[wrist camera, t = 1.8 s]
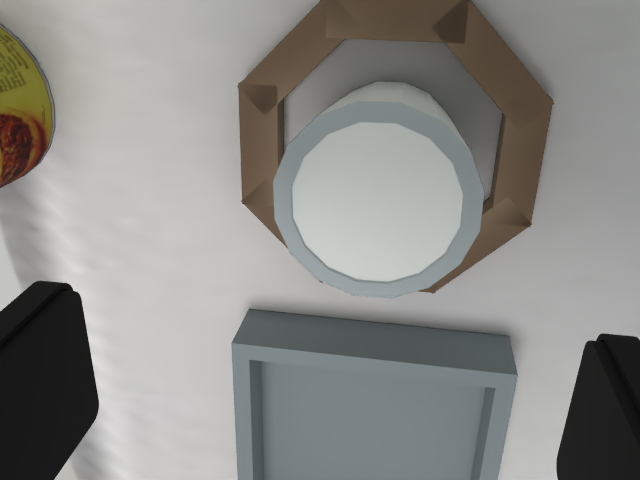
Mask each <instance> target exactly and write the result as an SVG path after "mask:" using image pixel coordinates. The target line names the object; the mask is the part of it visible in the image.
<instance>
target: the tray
mask: <svg viewBox="0 0 640 480" xmlns="http://www.w3.org/2000/svg"><path fill="white" fill-rule="evenodd" d="M232 363H233V385H234V406H235V428H236V449H237V471H238V480H497V479H498V473H499V468H500V463H501V458H502V453H503V448H504V443H505V437H506V432H507V427H508V422H509V417H510V412H511V406H512V401H513V396H514V391H515V386H516V381H517V376H518V375H517V370H516V366H515V361H514V357H513V352H512V348H511V343H510V339H509V336H501V335H492V334H482V333H472V332H463V331H453V330H444V329H434V328H424V327H415V326H405V325H395V324H386V323H376V322H367V321H357V320H347V319H338V318H328V317H318V316H309V315H299V314H290V313H280V312H270V311H261V310H251V309H249V310H248V312H247V314H246V316H245V318H244V320H243V322H242V324H241V326H240V328H239V330H238V332H237V334H236V335H235V337H234V339H233V341H232Z"/></svg>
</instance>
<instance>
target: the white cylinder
mask: <svg viewBox="0 0 640 480" xmlns="http://www.w3.org/2000/svg"><path fill="white" fill-rule="evenodd" d="M273 193H274V218H275V221H276V224H277V226H278V228H279V230H280V232H281V234H282V237H283V239H284V241H285V243H286V245H287V247H288V249H289V252H290V254H291V255H292V256H294V257H295V258H296V259H297V260H298V261H299V262H300V263H301V264H302V265H303V266H304V267H305V268H306V269H307V270H308V271H309V272H310V273H311V274H312V275H313V276H314V277H315V278H316V279H318V280H319V281H322V282H324V283H326V284H329V285H331V286H333V287H335V288H338V289H340V290H342V291H344V292H347V293H349V294H351V295H356V296H370V297H383V298H394V297H397V296H401V295H405V294H408V293H412V292H415V291H419V290H423V289H426V288H429V287H431V286H432V285H433V284H435V283H436V282H437V281H439V280H440V279H441V278H443V277H444V276H445V275H447V274H448V273H449V272H451V271H452V270H453V269H455V268H456V267H458V266H459V265H460V264H461V262H462V261H463V259H464V257H465V255H466V254H467V252H468V250H469V249H470V247H471V245H472V244H473V242H474V240H475V239H476V237H477V235H478V234H479V232H480V226H481V217H482V208H483V200H484V189H483V186H482V183H481V180H480V177H479V174H478V171H477V168H476V165H475V162H474V159H473V156H472V153H471V151H470V149H469V148H468V146H467V145H466V143H465V141H464V140H463V138H462V137H461V135H460V133H459V132H458V130H457V129H456V127H455V125H454V124H453V122H452V121H451V119H450V117H449V116H448V114H447V113H446V112H445V110H444V109H443V108H442V107H441V106H440V105H439V104H438V103H437V102H436V101H435V99H434V98H433V97H432V96H431V95H430V94H429V93H427V92H425V91H423V90H421V89H418V88H416V87H414V86H412V85H410V84H407V83H405V82H382V81H377V82H374V83H371V84H369V85H366V86H364V87H361V88H359V89H356V90H354V91H351V92H350V93H349V94H347V95H346V96H345V97H343V98H342V99H340V100H339V101H338V102H336V103H335V104H333V105H332V106H331V107H329V108H328V109H326V110H325V111H324V112H322V113H321V114H320V115H318V116H317V117H316V118H315V119H314V120H313V121H312V122H311V123H310V124H309V125H308V126H307V127H306V128H305V129H304V130H302V131H301V132H300V133H299V134H298V135H297V136H296V137H295V138H294V139H293V140H292V141H291V142H290V143H289V144H288V145H287V148H286V150H285V153H284V155H283V158H282V160H281V163H280V165H279V168H278V170H277V173H276V175H275V178H274V181H273Z"/></svg>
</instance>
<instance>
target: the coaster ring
mask: <svg viewBox="0 0 640 480" xmlns="http://www.w3.org/2000/svg"><path fill="white" fill-rule="evenodd" d="M344 39H369V40H393V41H417V42H441V43H445V44H446V45H447V47H448V48H449V49H450V50H451V51H452V52H453V54H454V55H455V56H456V57H457V58H458V60H459V61H460V62H461V63H462V64H463V66H464V67H465V68H466V69H467V70H468V72H469V73H470V74H471V75H472V76H473V78H474V79H475V80H476V81H477V82H478V84H479V85H480V86H481V87H482V88H483V90H484V91H485V92H486V93H487V94H488V96H489V97H490V98H491V99H492V100H493V102H494V103H495V104H496V105H497V106H498V108H499V109H500V110H501V111H502V112H503V113H502V120H501V127H500V134H499V140H498V147H497V154H496V160H495V167H494V174H493V181H492V187H491V194H490V198H488V199H487V200H486V201H484V202H483V208H482V217H481V226H480V232H479V234H478V235H477V237H476V239H475V240H474V242H473V244H472V245H471V247H470V249H469V250H468V252H467V254H466V255H465V257H464V259H463V261H462V262H461V264H460V265H459V266H458V267H456V268H455V269H453V270H452V271H451V272H449V273H448V274H447V275H445V276H444V277H443V278H441V279H440V280H439V281H437V282H436V283H435V284H433V285H432V286H431V287H429V288H426V289H423V290H419V291H420V292H430V293H432V294H433V293H435V292H436V291H437V290H438V289H440V288H441V287H443V286H444V285H446V284H447V283H449V282H450V281H451V280H453V279H454V278H456V277H457V276H459V275H460V274H461V273H463V272H464V271H466V270H467V269H469V268H470V267H472V266H473V265H474V264H476V263H477V262H479V261H480V260H482V259H483V258H484V257H486V256H487V255H489V254H490V253H492V252H493V251H495V250H496V249H497V248H499V247H500V246H502V245H503V244H505V243H506V242H507V241H509V240H510V239H512V238H513V237H515V236H516V235H518V234H519V233H520V232H522V231H523V230H525V229H526V228H528V227H530V225H532V223H531V220H532V214H533V209H534V203H535V198H536V192H537V187H538V181H539V176H540V170H541V165H542V159H543V154H544V148H545V143H546V137H547V132H548V126H549V121H550V115H551V110H552V105H553V104H554V103H553V99H552V98H551V97H550V96H549V95H548V94H546V93H545V92H544V91H543V89H542V88H541V87H540V86H539V84H538V83H537V82H536V81H535V79H534V78H533V77H532V76H531V74H530V73H529V72H528V71H527V70H526V68H525V67H524V66H523V65H522V63H521V62H520V61H519V60H518V58H517V57H516V56H515V55H514V53H513V52H512V51H511V50H510V49H509V47H508V46H507V45H506V44H505V42H504V41H503V40H502V39H501V37H500V36H499V35H498V34H497V32H496V31H495V30H494V29H493V27H492V26H491V25H490V24H489V23H488V21H487V20H486V19H485V18H484V16H483V15H482V14H481V13H480V11H479V10H478V9H477V8H476V6H475V5H474V4H473V3H472V2H471V0H321V1H320V2H319V3H318V4H317V5H316V6H315V7H314V8H313V9H312V10H311V11H310V12H309V13H308V14H307V15H306V16H305V17H304V18H303V19H302V20H301V21H300V23H299V24H298V25H297V26H296V27H295V28H294V29H293V30H292V31H291V32H290V33H289V34H288V35H287V36H286V37H285V38H284V39H283V40H282V41H281V42H280V43H279V44H278V45H277V46H276V47H275V48H274V49H273V50H272V51H271V52H270V53H269V54H268V55H267V56H266V58H265V59H264V60H263V61H262V62H261V63H260V64H259V65H258V66H257V67H256V68H255V69H254V70H253V71H252V72H251V73H250V74H249V75H248V76H247V77H246V78H245V79H244V80H243V81H242V82H240V83H238V86H237V87H238V88H239V117H240V147H241V177H242V201H241V202H242V204H244V205H245V206H246V207H247V208H248V209H249V210H250V211H251V212H252V213H253V214H254V215H255V216H256V217H257V218H258V219H259V220H260V221H261V222H262V223H263V224H264V225H265V226H266V227H267V228H268V229H269V230H270V231H271V232H272V233H273V234H274V235H275V236H276V237H277V238H278V239H279V240H280V241H281V242H282V243H283V244H284V245H285V246H286V247H287V245H286V243H285V241H284V239H283V237H282V234H281V232H280V230H279V228H278V226H277V224H276V221H275V218H274V193H273V181H274V178H275V175H276V173H277V170H278V168H279V165H280V163H281V160H282V158H283V155H284V97H285V96H286V95H287V94H288V93H289V92H290V91H291V90H292V89H294V88H295V87H296V86H297V85H298V84H299V83H300V82H301V81H302V80H303V79H304V78H305V77H306V76H307V75H308V74H309V73H310V72H311V71H312V70H313V69H314V68H315V67H316V66H317V65H318V64H319V63H320V62H321V61H322V60H323V59H324V58H325V57H326V56H327V55H328V54H329V53H330V52H331V51H333V50H334V49H335V48H336V47H337V46H338V45H339V44H340V43H341V42H342V41H343V40H344ZM287 248H288V247H287ZM320 282H322V281H320ZM322 283H323V282H322Z"/></svg>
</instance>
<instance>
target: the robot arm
mask: <svg viewBox="0 0 640 480" xmlns="http://www.w3.org/2000/svg"><path fill="white" fill-rule="evenodd" d="M98 409H99V400H98V394H97V388H96V383H95V377H94V371H93V365H92V359H91V353H90V347H89V342H88V336H87V330H86V324H85V318H84V312H83V307H82V301H81V297H80V295H79V293H78V292H75V291H73V288H72V287H71V285H69V284H67V283H59V282H49V281H37V282H35V283H33V284H32V285H31V286H30V287H28V288H27V289H26V290H25V291H24V292H23V293H21V294H20V295H19V296H18V297H17V298H16V299H14V301H12V302H11V303H10V304H9V305H8V306H6V307H5V308H4V309H3V310H2V311H0V480H54V479H55V477H56V476H57V475H58V473H59V472H60V470H61V469H62V467H63V466H64V464H65V463H66V461H67V460H68V459H69V457H70V456H71V454H72V453H73V451H74V450H75V448H76V447H77V446H78V444H79V443H80V441H81V440H82V438H83V437H84V435H85V434H86V433H87V431H88V430H89V428H90V427H91V425H92V424H93V422H94V421H95V419H96V416H97V413H98ZM557 477H558V480H640V340H639V339H638V338H637V337H634V336H623V335H613V334H600V335H599V336H598V338H597V340H596V341H588V342H587V343H586V345H585V348H584V351H583V355H582V359H581V363H580V367H579V371H578V375H577V379H576V383H575V387H574V391H573V395H572V399H571V403H570V407H569V411H568V416H567V420H566V424H565V428H564V432H563V436H562V440H561V444H560V448H559V452H558V456H557Z"/></svg>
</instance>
